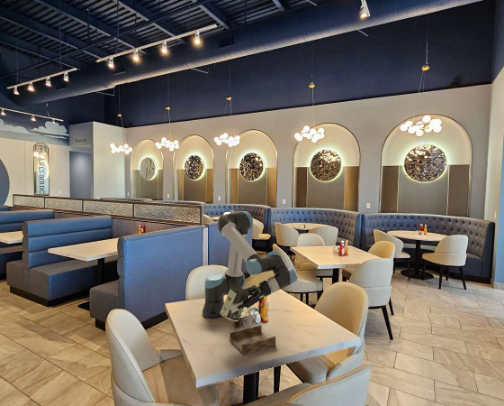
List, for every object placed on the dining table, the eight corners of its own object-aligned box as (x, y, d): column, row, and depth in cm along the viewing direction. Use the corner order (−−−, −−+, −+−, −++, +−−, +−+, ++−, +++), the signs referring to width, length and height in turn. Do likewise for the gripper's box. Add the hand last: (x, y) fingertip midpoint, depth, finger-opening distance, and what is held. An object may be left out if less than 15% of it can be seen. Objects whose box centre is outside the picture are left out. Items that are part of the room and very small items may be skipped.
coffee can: (241, 319, 150) (252, 293, 151) (234, 323, 141) (246, 295, 141) (224, 309, 154) (235, 284, 155) (216, 313, 144) (227, 286, 145)
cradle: (260, 332, 160) (260, 324, 160) (275, 346, 146) (275, 337, 146) (229, 340, 151) (229, 331, 151) (242, 355, 138) (242, 345, 138)
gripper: (278, 301, 142) (236, 322, 137) (264, 286, 163) (227, 303, 158) (273, 287, 140) (230, 308, 135) (259, 273, 162) (222, 291, 157)
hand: (228, 306), depth 147 cm, fingers closed on coffee can, 10 cm apart
